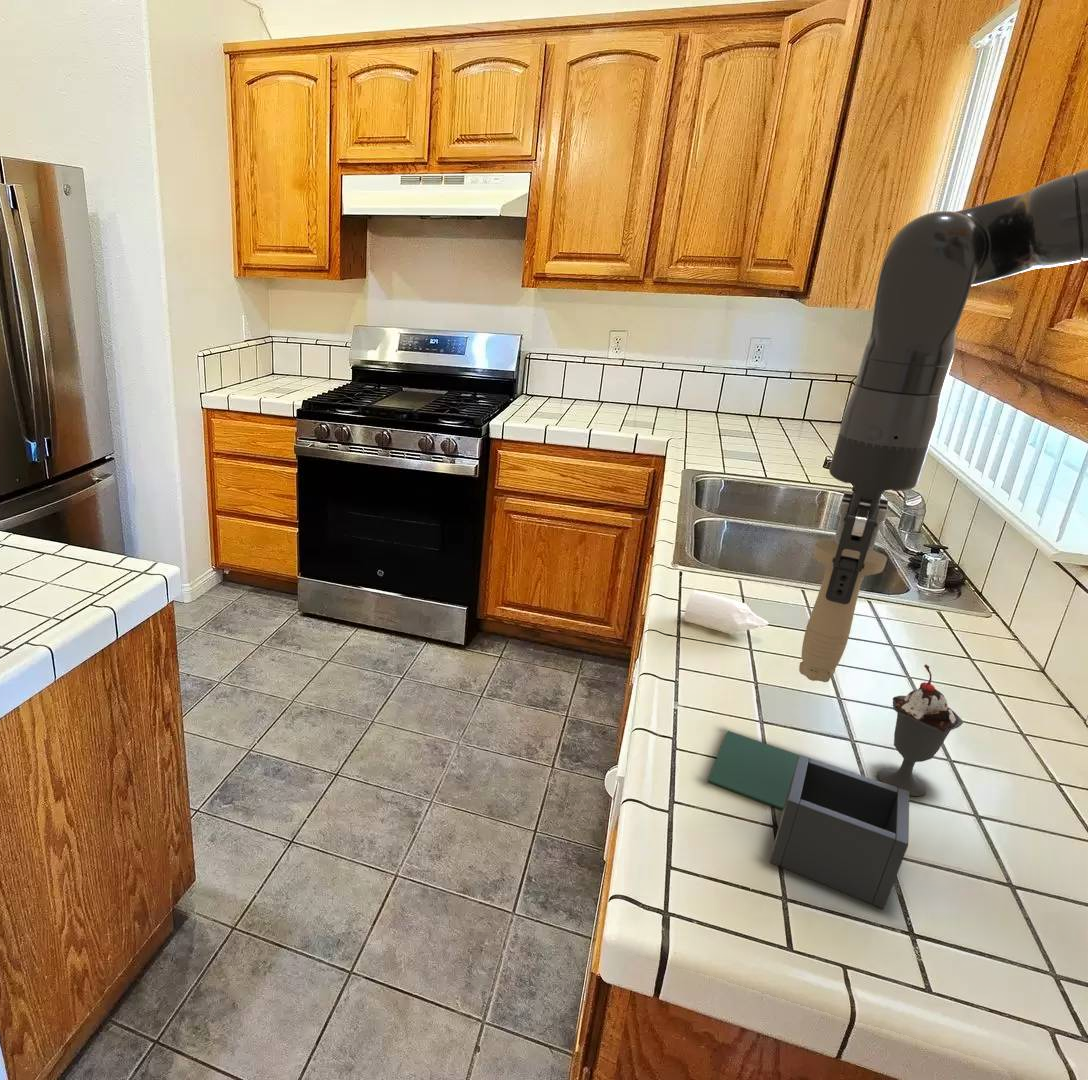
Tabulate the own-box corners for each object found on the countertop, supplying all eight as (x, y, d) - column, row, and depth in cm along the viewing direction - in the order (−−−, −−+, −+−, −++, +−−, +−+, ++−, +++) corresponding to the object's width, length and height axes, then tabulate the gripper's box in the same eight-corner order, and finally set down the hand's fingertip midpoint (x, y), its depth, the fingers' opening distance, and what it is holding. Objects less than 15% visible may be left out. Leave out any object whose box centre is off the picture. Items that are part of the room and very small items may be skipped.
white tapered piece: (758, 650, 119) (766, 618, 117) (681, 626, 126) (687, 595, 124) (767, 636, 123) (775, 605, 121) (692, 613, 130) (699, 584, 128)
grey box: (887, 852, 79) (909, 791, 76) (884, 909, 72) (908, 844, 69) (781, 812, 84) (799, 753, 81) (769, 862, 77) (787, 800, 75)
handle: (841, 696, 80) (880, 566, 74) (776, 672, 84) (809, 548, 78) (853, 679, 83) (891, 554, 78) (790, 657, 87) (823, 537, 82)
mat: (851, 774, 91) (852, 772, 91) (843, 833, 82) (844, 831, 82) (727, 732, 98) (727, 730, 98) (707, 781, 89) (707, 779, 89)
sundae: (881, 757, 94) (917, 652, 89) (943, 787, 89) (986, 678, 84) (858, 777, 91) (894, 669, 85) (922, 809, 86) (964, 697, 80)
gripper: (931, 456, 66) (877, 627, 72) (929, 428, 77) (882, 578, 83) (834, 442, 70) (790, 606, 76) (845, 417, 81) (806, 562, 87)
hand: (839, 591), depth 80 cm, fingers closed on handle, 5 cm apart
